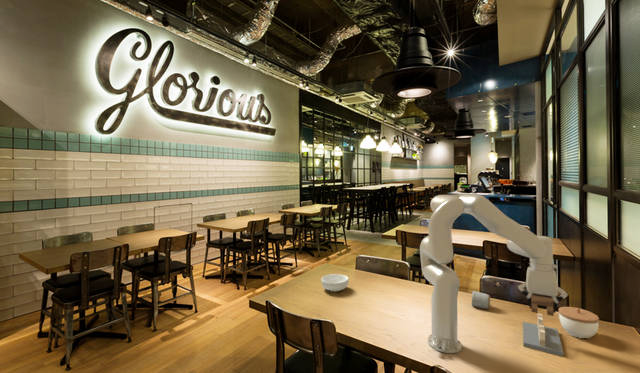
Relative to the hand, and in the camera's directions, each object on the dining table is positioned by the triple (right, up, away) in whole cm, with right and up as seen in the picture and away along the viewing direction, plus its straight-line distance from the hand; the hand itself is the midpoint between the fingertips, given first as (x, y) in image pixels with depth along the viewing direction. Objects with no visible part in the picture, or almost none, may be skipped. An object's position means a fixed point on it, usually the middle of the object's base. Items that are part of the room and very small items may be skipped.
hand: (542, 308), depth 116 cm
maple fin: (0, -11, 0) cm, 11 cm away
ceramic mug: (-8, -12, +32) cm, 35 cm away
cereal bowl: (-82, -13, +57) cm, 101 cm away
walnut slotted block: (0, -1, 0) cm, 1 cm away
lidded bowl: (+18, -12, +3) cm, 22 cm away
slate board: (0, -13, 0) cm, 13 cm away
